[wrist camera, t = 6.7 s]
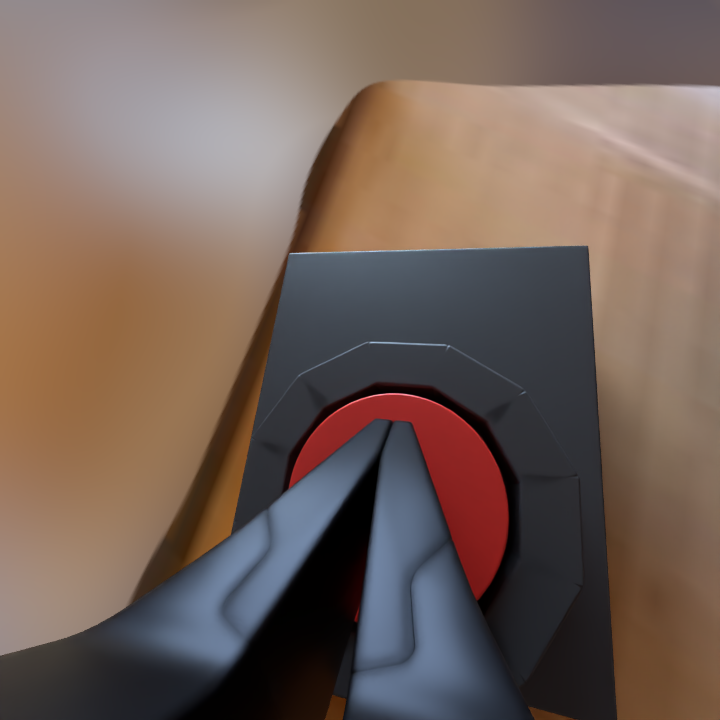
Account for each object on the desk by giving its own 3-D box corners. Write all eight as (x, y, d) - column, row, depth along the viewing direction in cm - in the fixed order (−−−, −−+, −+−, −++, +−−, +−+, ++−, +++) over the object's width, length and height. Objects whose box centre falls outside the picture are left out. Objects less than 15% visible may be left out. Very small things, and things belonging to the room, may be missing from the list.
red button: (495, 624, 9) (508, 663, 7) (302, 580, 10) (267, 604, 8) (499, 416, 10) (510, 401, 8) (329, 401, 11) (305, 386, 10)
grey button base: (554, 636, 13) (666, 802, 6) (287, 577, 15) (165, 649, 9) (547, 315, 16) (613, 202, 9) (330, 311, 18) (266, 220, 12)
